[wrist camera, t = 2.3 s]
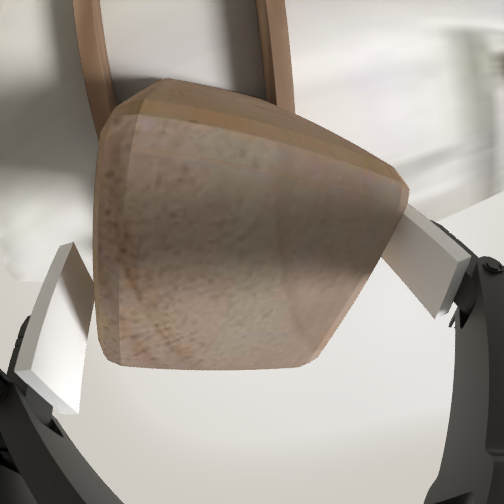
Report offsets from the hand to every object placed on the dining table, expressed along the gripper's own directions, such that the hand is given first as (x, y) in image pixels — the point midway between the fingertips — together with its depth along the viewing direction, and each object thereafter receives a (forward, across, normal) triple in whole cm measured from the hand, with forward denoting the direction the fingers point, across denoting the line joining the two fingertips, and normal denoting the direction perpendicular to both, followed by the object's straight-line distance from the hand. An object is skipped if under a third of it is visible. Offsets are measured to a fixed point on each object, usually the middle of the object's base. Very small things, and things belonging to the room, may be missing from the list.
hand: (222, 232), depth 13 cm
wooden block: (+16, 0, 0) cm, 16 cm away
